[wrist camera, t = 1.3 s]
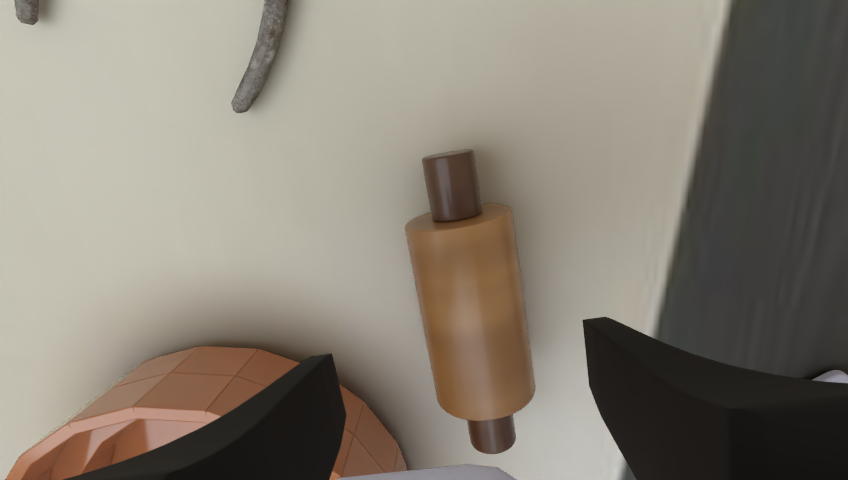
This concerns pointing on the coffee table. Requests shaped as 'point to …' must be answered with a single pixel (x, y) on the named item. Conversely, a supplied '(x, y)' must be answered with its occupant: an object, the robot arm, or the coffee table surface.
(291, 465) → the robot arm
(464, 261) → the rolling pin
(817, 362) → the coffee table surface
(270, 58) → the pliers
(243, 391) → the bowl
